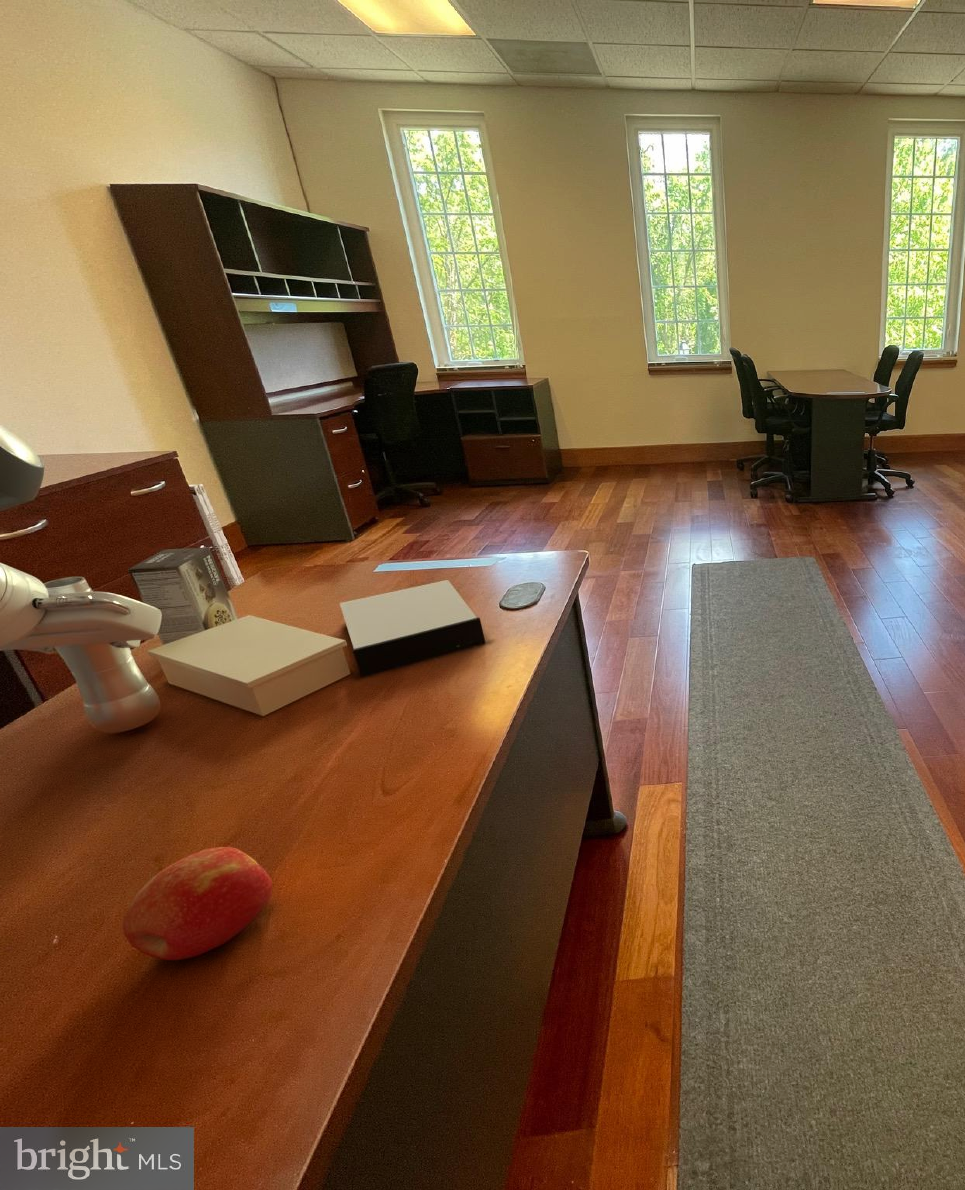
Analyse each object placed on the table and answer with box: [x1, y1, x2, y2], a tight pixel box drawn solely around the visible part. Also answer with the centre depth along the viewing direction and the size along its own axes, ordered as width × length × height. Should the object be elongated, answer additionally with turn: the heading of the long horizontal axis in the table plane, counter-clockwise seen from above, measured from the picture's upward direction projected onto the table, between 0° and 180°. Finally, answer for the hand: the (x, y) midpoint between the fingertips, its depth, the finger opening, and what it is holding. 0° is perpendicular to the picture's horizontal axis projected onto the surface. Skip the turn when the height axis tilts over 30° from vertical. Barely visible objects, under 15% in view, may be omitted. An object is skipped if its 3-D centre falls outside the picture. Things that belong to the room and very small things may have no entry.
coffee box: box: [127, 546, 239, 645], centre depth 97 cm, size 9×6×16 cm
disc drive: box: [339, 579, 486, 678], centre depth 104 cm, size 18×22×5 cm
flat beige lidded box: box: [147, 614, 351, 717], centre depth 90 cm, size 23×13×6 cm, turn 68°
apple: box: [122, 846, 273, 961], centre depth 52 cm, size 8×8×8 cm
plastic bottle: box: [43, 576, 162, 734], centre depth 75 cm, size 6×7×20 cm
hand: (97, 644), depth 75 cm, fingers closed on plastic bottle, 6 cm apart
